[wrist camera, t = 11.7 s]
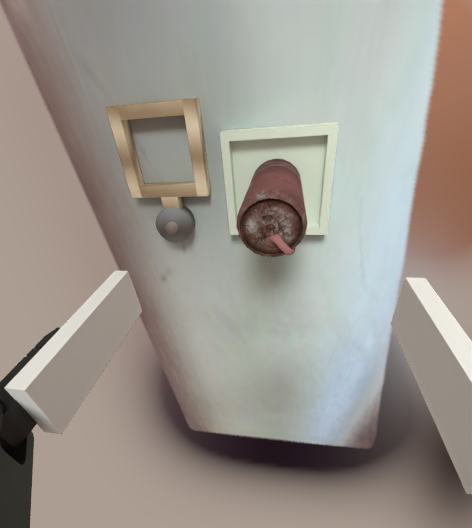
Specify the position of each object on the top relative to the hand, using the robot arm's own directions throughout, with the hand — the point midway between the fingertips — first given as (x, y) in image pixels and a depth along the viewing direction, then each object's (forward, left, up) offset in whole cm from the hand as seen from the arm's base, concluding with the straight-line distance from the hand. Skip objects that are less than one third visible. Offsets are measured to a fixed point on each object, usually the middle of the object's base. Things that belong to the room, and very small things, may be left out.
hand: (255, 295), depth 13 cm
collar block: (0, -14, -25) cm, 29 cm away
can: (+1, 0, -25) cm, 25 cm away
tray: (+1, 0, -25) cm, 25 cm away
